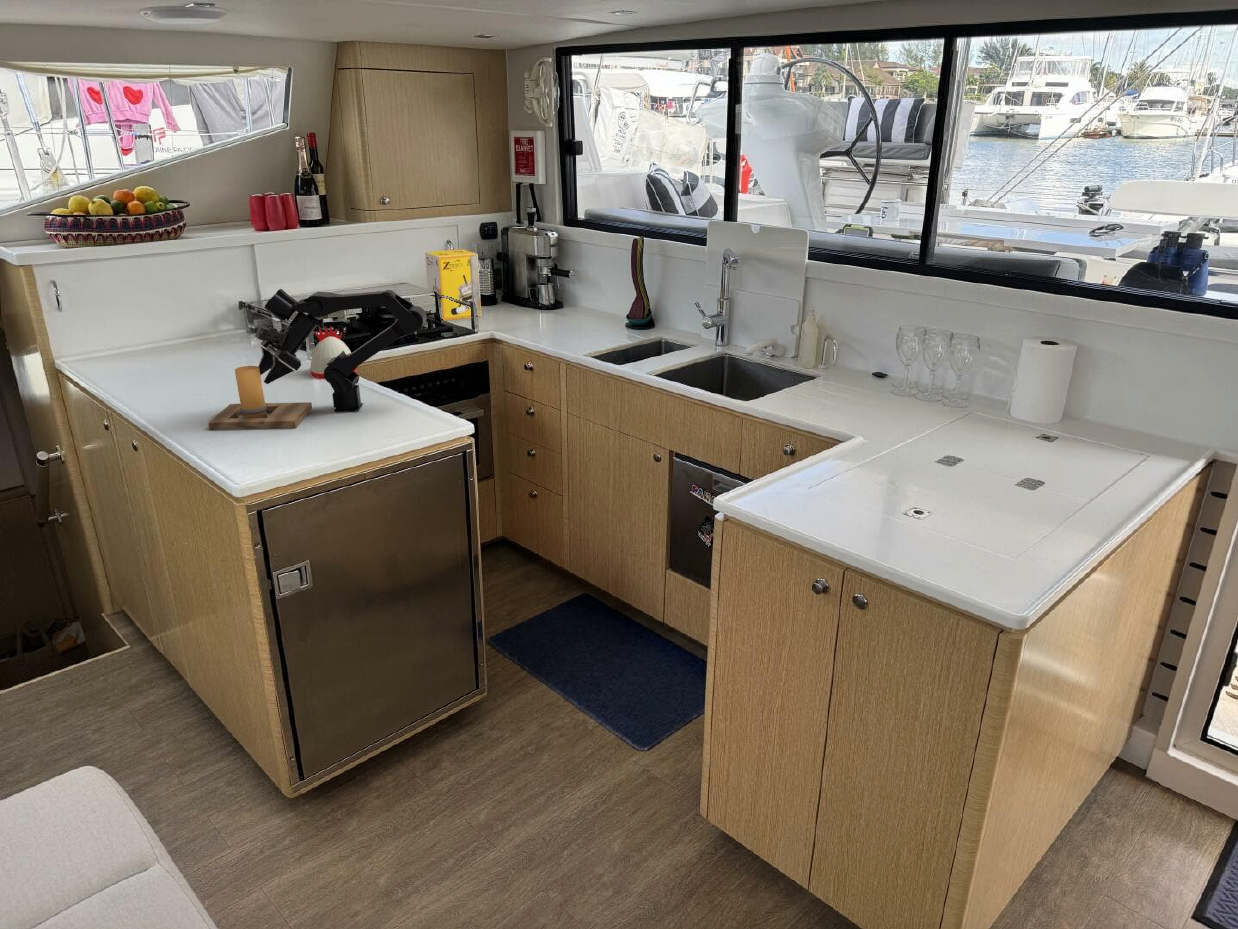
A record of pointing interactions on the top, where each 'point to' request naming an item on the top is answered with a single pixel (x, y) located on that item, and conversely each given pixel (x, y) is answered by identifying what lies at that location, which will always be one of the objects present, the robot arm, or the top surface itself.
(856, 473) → the top surface
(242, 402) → the orange round cylinder
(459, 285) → the packaging box
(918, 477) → the top surface
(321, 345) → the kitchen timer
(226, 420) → the wooden frame
